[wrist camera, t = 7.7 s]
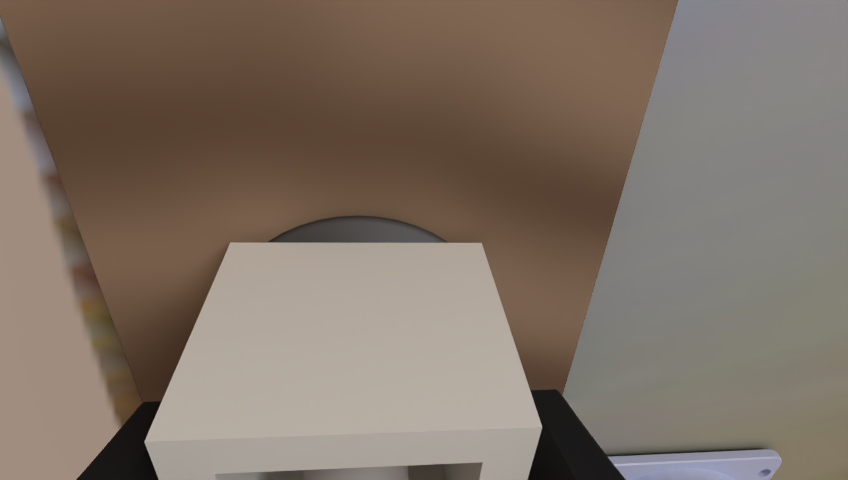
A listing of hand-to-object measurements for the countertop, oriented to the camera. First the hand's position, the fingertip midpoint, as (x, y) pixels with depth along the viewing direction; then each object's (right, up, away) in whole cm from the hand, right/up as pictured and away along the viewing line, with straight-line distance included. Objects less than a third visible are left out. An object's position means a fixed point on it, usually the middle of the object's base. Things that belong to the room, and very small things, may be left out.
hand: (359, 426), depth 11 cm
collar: (0, +2, +2) cm, 3 cm away
